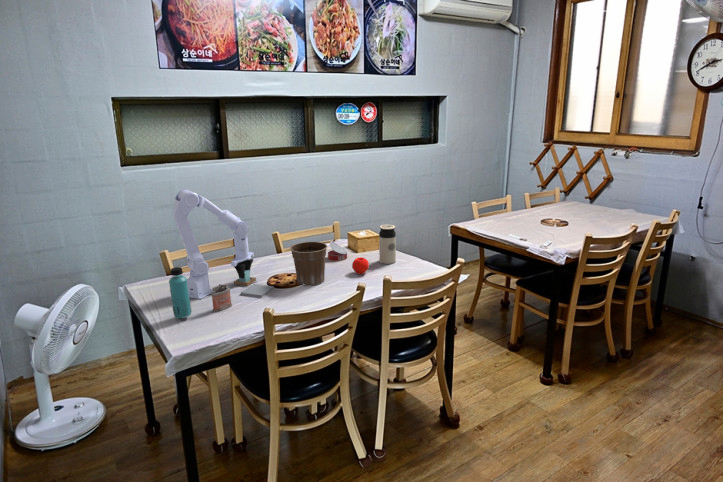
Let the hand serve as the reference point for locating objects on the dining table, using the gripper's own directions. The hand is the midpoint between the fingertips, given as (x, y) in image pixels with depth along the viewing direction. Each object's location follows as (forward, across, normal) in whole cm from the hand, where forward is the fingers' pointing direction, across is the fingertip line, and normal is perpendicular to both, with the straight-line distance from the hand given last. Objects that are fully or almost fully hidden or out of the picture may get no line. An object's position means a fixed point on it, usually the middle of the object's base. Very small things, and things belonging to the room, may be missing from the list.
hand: (244, 276), depth 213 cm
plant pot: (+3, +11, -27) cm, 29 cm away
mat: (+3, -7, -11) cm, 13 cm away
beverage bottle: (+3, -38, +2) cm, 38 cm away
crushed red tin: (+3, -26, -7) cm, 27 cm away
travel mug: (+3, +46, -52) cm, 69 cm away
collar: (+3, 0, 0) cm, 3 cm away
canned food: (+3, +44, -26) cm, 51 cm away
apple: (+3, +27, -45) cm, 53 cm away
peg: (+3, 0, 0) cm, 3 cm away
